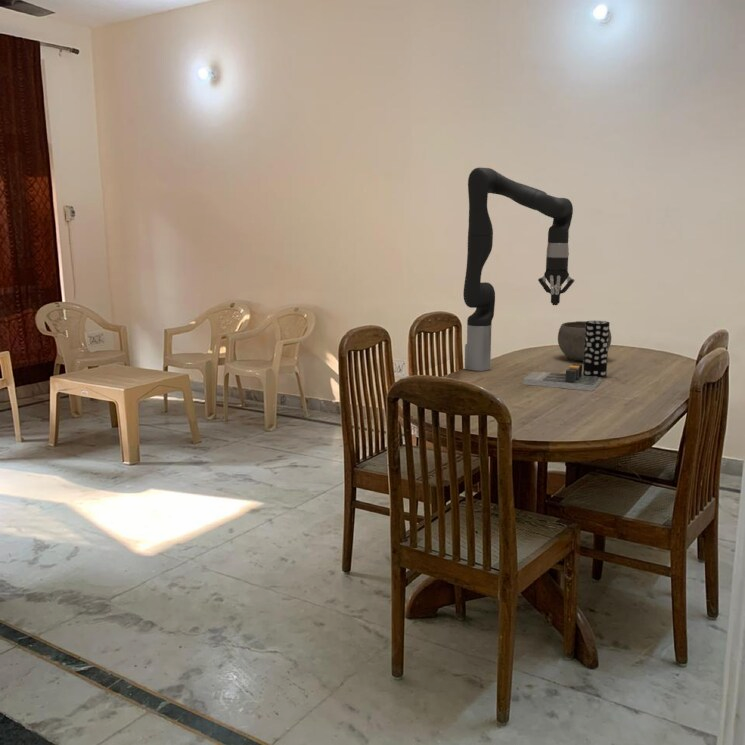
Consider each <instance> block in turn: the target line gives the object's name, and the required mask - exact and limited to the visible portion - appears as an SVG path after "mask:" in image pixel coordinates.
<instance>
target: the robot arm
mask: <svg viewBox="0 0 745 745" xmlns="http://www.w3.org/2000/svg"><path fill="white" fill-rule="evenodd" d="M467 192H468V229H467V230H468V231H467V255H466V256H467V257H466V270H465V278H464V283H463V284H464V285H463V293H462V294H463V300H464V304H465V305H466V306H467V308H470V309H471V308H472V309H473V308H475V311H474V312H472V314H471V315H469V316H468V317H467V321H466V322H467V323H466V324H467V325H466V334H467V335H466V344H465V345H464V369H465V370H470V371H476V372H477V371H478V372H481V371H482V372H483V371H485V372H486V371H489V370H491V358H492V357H491V356H492V355H491V354H492V353H491V352H492V327H493V326H492V321H493V318H494V315H495V305H496V304H495V303H496V291H495V288H494V286H493V285H492V284H491V283H490V282H481V280H482V279H481V278H482V272H483V269H484V266H485V264H486V263H487V260H488V258H489V257H490V255H491V252H492V250H493V249H492V248H493V245H494V244H493V240H494V239H493V238H494V229H493V224H492V220H491V218H490V214H489V211H488V195H489V194H493V195H498V196H499V195H500V196H503V197H506V198H507V199H510V200H512V201H514V202H515V203H517V204H519V205H521V206H523V207H526V208H528V209H531V210H534V211H537V212H539V213H541V214H543V215H544V216H546V217H548V218H552V219H553V221H552V224H551V226H550V227H549V228H548V232H547V245H546V246H547V247H546V255H545V256H546V260H545V271H544V274H543V276H542V277H540V278H538V279H537V281H538V283H539V284H540V285H541V287H542V289H543V290H544V291H545V292H546V293H548V294H550V303H551V305H552V306H558V305H559V304H560V301H561V300H560V299H561V294H564V293H566V292H567V291H568V289H570V287H571V286H572V285H573V283H575V279H574V278H572V277H571V276H570V274H569V255H570V253H569V252H570V251H569V249H570V248H569V237H570V236H569V232H570V227H571V223H572V219H573V215H574V214H573V213H574V208H573V203H572V202H571V200H570V199H568V198H565V197H556V196H553V195H550V194H548V193H547V192H545V191H543V190H541V189H538V188H535V187H532V186H529V185H526V184H523V183H520V182H517V181H515V180H512V179H510V178H508V177H506V176H505V175H503V174H501V173H500V172H498V171H496V170H495V169H492V168H490V167H475V168H473V169H472V170H471V172H470V173H469V176H468V179H467ZM565 282H566V284H565V285H564V287H562V285H563V284H564V283H565ZM547 283H548V284H549V285H550V286H549V285H548V284H547Z"/></svg>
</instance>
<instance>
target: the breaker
mask: <svg viewBox="0 0 745 745" xmlns="http://www.w3.org/2000/svg"><path fill="white" fill-rule="evenodd" d="M568 369H573V370H576V379H578V378H579V369H580V366H573V364H572V365H569V367H568Z"/></svg>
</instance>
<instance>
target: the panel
mask: <svg viewBox="0 0 745 745" xmlns="http://www.w3.org/2000/svg"><path fill="white" fill-rule="evenodd" d="M572 365H573V366H580V369H579V378H578V379H576V370H573V369H569V368H568V369H566V371H565V373H557V372H547V371H546V372H543V371H532V372H531V373H529V374H528V375H527V376H525V377H524V378H523V380H522V381H523V383H522V384H523V385H525V386H526V385H528V386H536V387H537V386H538V387H547V388H548V387H549V388H559V389H569V390H577V391H588V392H589V391H590V392H593V391H594V390H595V389H596V388H598V386H599V385H600V384H601V379H602V378H601V377H592V376H583V364H580V363H579V364H578V363H573V364H572Z"/></svg>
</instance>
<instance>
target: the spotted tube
mask: <svg viewBox="0 0 745 745" xmlns="http://www.w3.org/2000/svg"><path fill="white" fill-rule="evenodd" d="M609 329H610V322H609V321H606V320H587V321H586V329H585V347H584V361H583V365H582V376H592V377H601V379H604V378H607V373H608V370H607V368H608V352H609V349H608V339H609Z"/></svg>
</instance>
